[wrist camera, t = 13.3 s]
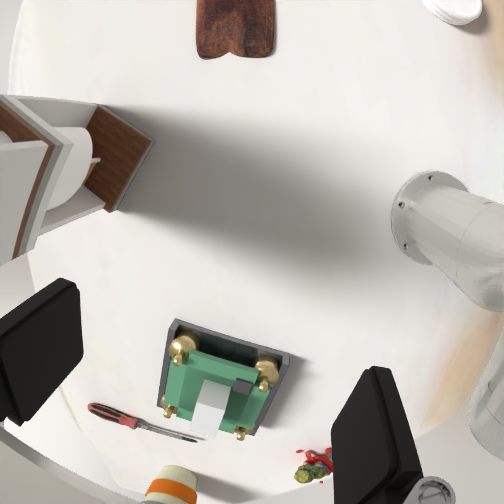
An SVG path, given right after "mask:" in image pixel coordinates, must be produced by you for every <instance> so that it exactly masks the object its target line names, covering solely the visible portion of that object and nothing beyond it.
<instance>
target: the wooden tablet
mask: <svg viewBox="0 0 504 504" xmlns="http://www.w3.org/2000/svg"><path fill="white" fill-rule="evenodd" d="M273 36H274V4H273V0H197V8H196V46H197V52H198V55H199V57H201V58H202V59H210V58H216V57H220V56H223V55H225V54H226V53H228V52H231V53H232V54H234V55H237V56H240V57H265V56H267V55H268V54H270V53H271V51H272V49H273Z"/></svg>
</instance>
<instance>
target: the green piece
mask: <svg viewBox="0 0 504 504" xmlns="http://www.w3.org/2000/svg"><path fill="white" fill-rule="evenodd" d="M174 358H175V357H174V356H172V358H171V361H170V366H169V372H168V378H167V384H166V391H165V397H164V403H166V404H169V405H172V406H175V407H178V410H177V415H176V416H177V417H180V418H183V419H186V420H189V421H191V425H190V429H189V430H190V431H193V432H196V433H200V434H203V435H206V436H210V437H213V438H215V437H216V434H217V431H218V430H221V431H225V432H229V433H232V434H233V433H234V431H235V428H236V426H240V427H244V428H248V429H252V427H253V425H254V423H255V421H256V419H257V417H258V415H259V413H260V411H261V408H262V406H263V404H264V402H265V400H266V398H267V396H268V394H269V391H270V386H269V385H268V389H267V392H265V393H262V392H260V391H259V384H260V383H258V382H255V381H256V379H257V376H258V373H259V369H255V368H252V367H248V366H245V365H241V364H238V363H234V362H231V361H228V360H225V359H221V358H218V357H215V356H212V355H208V354H205V353H202V352H199V351H196V350H193V349H191V351H190V354H189V358H188V361H186V360H183V361H182V363H181V365H180V366H179V367H177V366H175V365H173V360H174Z"/></svg>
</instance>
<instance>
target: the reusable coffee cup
mask: <svg viewBox="0 0 504 504" xmlns="http://www.w3.org/2000/svg"><path fill="white" fill-rule="evenodd" d="M196 485H197V476H196V475H195V474H194V473H193V472H191V471H189V470H188V469H185V468H183V467H179V466H175V465H167V466H164V467H163V468H162V470H161V472H160V473H159V475H158V477H157V479H155V480H154V481H153V482H152V484H151V485H150V487H149V489H148V490H147V492H146V494H145V496H146V497H145V499H144V501H143V502H141V503H144V504H196V501H197V494H196Z"/></svg>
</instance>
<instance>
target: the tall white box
mask: <svg viewBox="0 0 504 504" xmlns="http://www.w3.org/2000/svg"><path fill="white" fill-rule="evenodd" d="M154 143H155V140H153V139H152V138H150V137H149V136H147V135H146V134H144V133H143V132H142V131H140V130H139V129H137V128H136V127H134V126H133V125H131V124H130V123H128V122H127V121H125V120H124V119H122V118H121V117H119V116H118V115H116V114H115V113H113V112H112V111H110V110H109V109H107V108H106V107H104V106H103V105H101V104H95V103H88V102H80V101H72V100H63V99H54V98H44V97H32V96H17V95H0V266H2V265H4V264H5V263H7V262H9V261H11V260H13V259H15V258H16V257H19V256H20V255H22V254H24V253H26V252H28V251H30V250H32V249H34V246H35V243H36V240H37V237H38V236H40V235H42V234H44V233H47V232H49V231H51V230H53V229H55V228H58V227H60V226H62V225H65V224H67V223H69V222H71V221H74V220H76V219H79V218H81V217H83V216H86V215H88V214H91V213H93V212H95V211H98V210H100V209H105V210H106V211H107V212H109V213H111V212H113V211H115V210H117V208H118V206H119V204H120V202H121V200H122V198H123V196H124V195H125V193H126V191H127V189H128V187H129V185H130V184H131V182H132V180H133V178H134V177H135V175H136V173H137V171H138V170H139V168H140V166H141V164H142V163H143V161H144V159H145V158H146V156H147V154H148V153H149V151H150V149H151V148H152V146H153V144H154Z"/></svg>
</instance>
